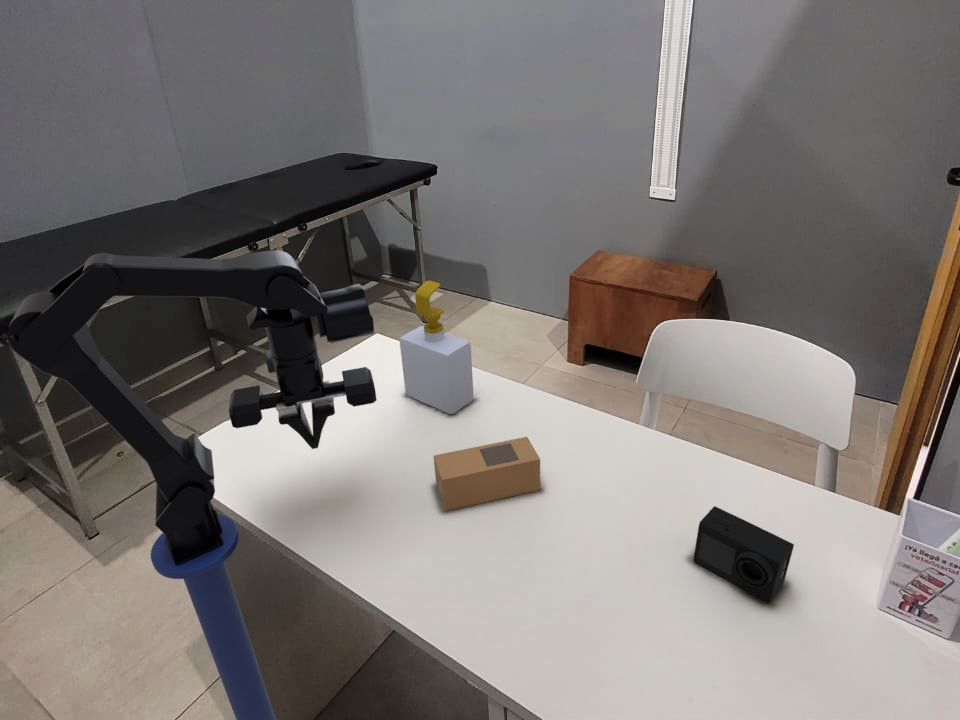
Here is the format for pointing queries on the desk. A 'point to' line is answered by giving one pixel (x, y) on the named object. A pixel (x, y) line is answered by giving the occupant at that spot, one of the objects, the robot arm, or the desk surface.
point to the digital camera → (742, 553)
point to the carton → (487, 473)
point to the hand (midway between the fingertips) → (315, 446)
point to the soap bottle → (436, 360)
